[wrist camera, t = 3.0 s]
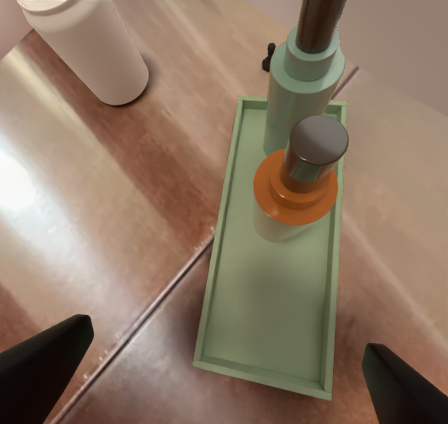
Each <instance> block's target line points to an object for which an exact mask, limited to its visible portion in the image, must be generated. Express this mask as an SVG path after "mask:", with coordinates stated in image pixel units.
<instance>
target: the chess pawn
mask: <svg viewBox="0 0 448 424" xmlns="http://www.w3.org/2000/svg"><path fill="white" fill-rule="evenodd" d="M275 47H276V46H275V44H274V43H270V44H269V45H268V57H266V58H265V59H264V60H263V62H262V66H263V69H264V70H266V71H268V72H270V62H271V58H272V56H273V54H274V50H275Z"/></svg>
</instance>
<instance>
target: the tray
mask: <svg viewBox="0 0 448 424" xmlns="http://www.w3.org/2000/svg"><path fill="white" fill-rule="evenodd" d="M266 106H267V97H253V96H239V98H238V104H237V109H236V115H235V121H234V127H233V133H232V138H231V144H230V150H229V156H228V162H227V167H226V173H225V179H224V185H223V191H222V196H221V202H220V208H219V214H218V220H217V225H216V231H215V237H214V243H213V249H212V254H211V260H210V266H209V272H208V278H207V283H206V289H205V295H204V301H203V307H202V313H201V318H200V324H199V330H198V336H197V342H196V347H195V353H194V360H193V364H192V367H196V368H200V369H204V370H208V371H212V372H216V373H220V374H224V375H228V376H232V377H236V378H240V379H244V380H248V381H252V382H256V383H260V384H264V385H268V386H272V387H276V388H280V389H284V390H288V391H292V392H296V393H300V394H304V395H308V396H312V397H316V398H320V399H324V400H328V401H331V398H332V377H333V359H334V340H335V322H336V303H337V285H338V266H339V248H340V229H341V210H342V192H343V173H344V155H345V154H344V155H343V156H342V158H341V159H340V160H339V161H338V162H337V164H336V165H335V166H334V167H333V170H334V172H335V174H336V177H337V182H338V193H337V198H336V200H335V203H334V205H333V206H332V208H331V209H330V210H329V212H328V213H327V214H326V215H325V216H323V217H322V218H320V219H319V220H317V221H316V222H315V223H313V224H312V225H310V226H309V227H307V228H306V229H304V230H303V231H301V232H300V233H298V234H297V235H295V236H294V237H292V238H291V239H289V240H287V241H285V242H281V243H273V242H269V241H267V240H265V239H263V238H262V237H260V235H259V234H258V233H257V232H256V230H255V228H254V225H253V181H254V176H255V173H256V171H257V169H258V167H259V165H260V164H261V163H262V161H263V160H264V159H265V158H267V156H266V154H265V152H264V149H263V139H264V128H265V117H266ZM323 115H326V116H330V117H332V118H334V119H336V120H338V121H339V122H340V123H341V124H342V125H343V126H344V127H345V129H346V118H347V101H333V100H330V101H329V103H328V106H327V108H326V110H325V112H324V114H323Z"/></svg>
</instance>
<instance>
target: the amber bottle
mask: <svg viewBox="0 0 448 424" xmlns="http://www.w3.org/2000/svg"><path fill="white" fill-rule="evenodd" d="M348 142H349V140H348V134H347V131H346V129H345V127H344V126H343V125H342V124H341V123H340V122H339V121H338V120H336V119H334V118H332V117H330V116H326V115H312V116H308V117H305V118H304V119H302V120H300V121H299V122H298V123H297V124H296V125H295V126H294V127H293V129H292V131H291V133H290V137H289V140H288V144H287V147H286V148H285V149H281V150H279V151H276V152H274V153H272V154H271V155H269V156H268V157H267V158H265V159H264V160H263V161H262V163H261V164H260V165H259V167H258V169H257V171H256V173H255V176H254V181H253V225H254V228H255V230H256V232H257V233H258V234H259V235H260V237H262V238H263V239H265V240H267V241H269V242H273V243H281V242H285V241H287V240H289V239H291V238H292V237H294V236H295V235H297V234H298V233H300V232H301V231H303V230H304V229H306V228H307V227H309V226H310V225H312V224H313V223H315V222H316V221H317V220H319V219H320V218H322V217H323V216H325V215H326V214H327V213H328V212H329V210H330V209H331V208H332V206H333V205H334V203H335V200H336V198H337V193H338V182H337V177H336V174H335V172H334V170H333V167H334V166H335V165H336V164H337V162H338V161H339V160H340V159H341V158H342V156H343V155H344V154H345V152H346V150H347V148H348Z"/></svg>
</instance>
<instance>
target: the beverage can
mask: <svg viewBox="0 0 448 424" xmlns="http://www.w3.org/2000/svg"><path fill="white" fill-rule="evenodd" d="M17 2H18V4H19V5H20V6H21V7H22V9H23V12H24V15H25V17H26V19H27V21H28V22H29V24H30V25H31V26H32V27H33V28H34V29H35V30H36V31H37V32H38V33H39V35H40V36H41V37H42V38H43V39H44V40H45V41H46V42H47V43H48V44H49V45H50V46H51V48H52V49H53V50H54V51H55V52H56V53H57V54H58V55H59V56H60V57H61V58H62V59H63V61H64V62H65V63H66V64H67V65H68V66H69V67H70V68H71V69H72V70H73V71H74V72H75V73H76V75H77V76H78V77H79V78H80V79H81V80H82V81H83V82H84V83H85V84H86V85H87V86H88V88H89V89H90V90H91V91H92V92H93V93H94V94H95V95H96V96H97V97H98V98H99V99H100V100H101V101H102V102H104V103H106V104H110V105H122V104H126V103H128V102H130V101H132V100H134V99H135V98H137V97H138V96H139V95H140V94H141V93H142V92H143V90H144V89H145V87H146V85H147V82H148V77H149V74H148V69H147V66H146V64H145V63H144V61H143V59H142V57H141V55H140V53H139V51H138V49H137V48H136V46H135V44H134V42H133V40H132V38H131V36H130V34H129V33H128V31H127V29H126V27H125V25H124V23H123V21H122V19H121V18H120V16H119V14H118V12H117V10H116V8H115V6H114V4H113V3H112V1H111V0H17Z"/></svg>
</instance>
